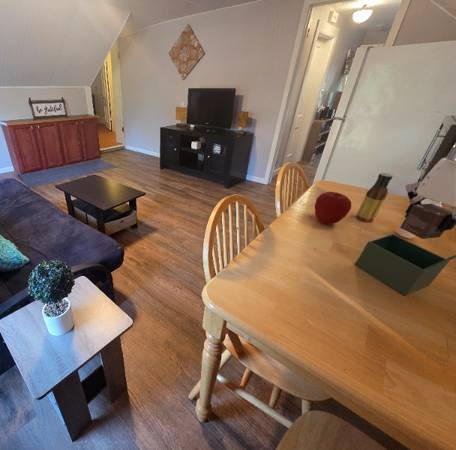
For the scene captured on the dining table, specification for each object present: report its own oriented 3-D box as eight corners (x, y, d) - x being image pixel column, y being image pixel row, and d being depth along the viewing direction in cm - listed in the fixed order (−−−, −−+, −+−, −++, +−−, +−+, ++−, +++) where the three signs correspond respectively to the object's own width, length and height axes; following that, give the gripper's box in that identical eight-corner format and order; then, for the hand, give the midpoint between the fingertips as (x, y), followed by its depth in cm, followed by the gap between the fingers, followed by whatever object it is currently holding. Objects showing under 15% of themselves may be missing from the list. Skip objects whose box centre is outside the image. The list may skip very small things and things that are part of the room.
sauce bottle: (367, 215, 107) (390, 171, 96) (376, 223, 101) (402, 177, 91) (351, 214, 107) (373, 171, 96) (360, 222, 102) (384, 176, 91)
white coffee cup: (389, 229, 97) (410, 195, 89) (409, 231, 96) (432, 197, 88) (400, 239, 91) (424, 203, 83) (421, 241, 90) (447, 205, 82)
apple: (348, 229, 97) (364, 199, 90) (319, 229, 97) (332, 198, 90) (330, 214, 107) (343, 186, 100) (303, 214, 107) (314, 186, 100)
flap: (450, 258, 66) (452, 259, 66) (425, 268, 62) (426, 269, 62) (480, 244, 61) (482, 246, 60) (454, 255, 57) (456, 256, 57)
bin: (429, 285, 71) (449, 260, 66) (404, 296, 68) (424, 270, 63) (378, 257, 82) (392, 234, 77) (354, 265, 79) (368, 241, 74)
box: (440, 237, 65) (458, 213, 61) (421, 239, 64) (439, 215, 60) (416, 225, 70) (431, 203, 66) (398, 227, 69) (413, 204, 65)
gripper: (539, 167, 50) (477, 238, 60) (433, 146, 64) (397, 206, 73) (522, 171, 48) (460, 244, 57) (416, 149, 62) (381, 210, 71)
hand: (425, 222), depth 65 cm, fingers closed on box, 6 cm apart
